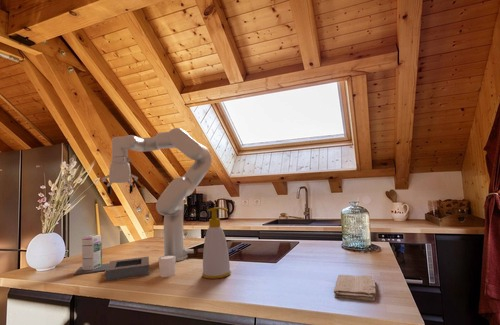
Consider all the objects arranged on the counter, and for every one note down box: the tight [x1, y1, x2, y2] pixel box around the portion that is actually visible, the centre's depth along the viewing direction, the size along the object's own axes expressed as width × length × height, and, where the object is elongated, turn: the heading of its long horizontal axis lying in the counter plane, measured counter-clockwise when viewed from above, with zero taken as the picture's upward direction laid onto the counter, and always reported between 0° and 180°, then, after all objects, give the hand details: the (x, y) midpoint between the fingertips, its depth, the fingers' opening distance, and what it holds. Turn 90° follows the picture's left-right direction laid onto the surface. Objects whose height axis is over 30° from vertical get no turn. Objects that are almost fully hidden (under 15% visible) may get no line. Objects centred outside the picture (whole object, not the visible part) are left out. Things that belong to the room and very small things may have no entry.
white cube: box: [157, 256, 177, 278], centre depth 115 cm, size 7×7×7 cm
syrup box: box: [81, 234, 103, 270], centre depth 129 cm, size 6×6×14 cm
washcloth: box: [333, 274, 377, 302], centre depth 90 cm, size 12×18×3 cm, turn 159°
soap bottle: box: [201, 206, 232, 280], centre depth 113 cm, size 11×12×26 cm
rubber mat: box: [73, 262, 110, 276], centre depth 129 cm, size 12×12×1 cm
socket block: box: [104, 256, 150, 282], centre depth 121 cm, size 16×16×4 cm
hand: (120, 193), depth 147 cm, fingers open, 9 cm apart
